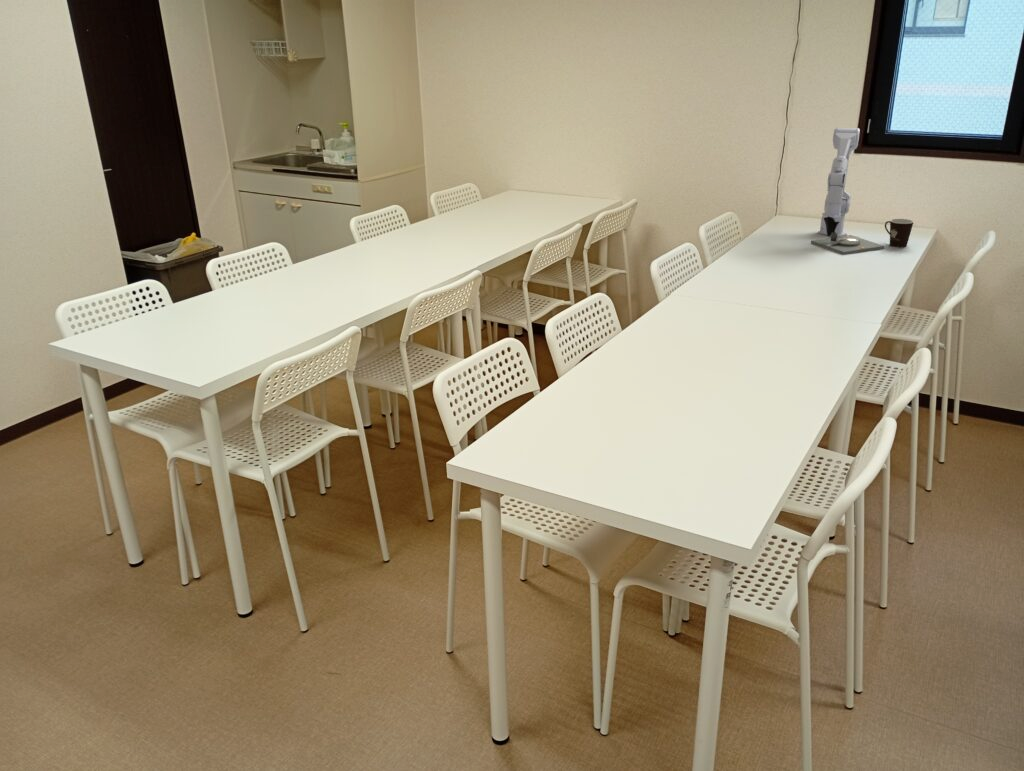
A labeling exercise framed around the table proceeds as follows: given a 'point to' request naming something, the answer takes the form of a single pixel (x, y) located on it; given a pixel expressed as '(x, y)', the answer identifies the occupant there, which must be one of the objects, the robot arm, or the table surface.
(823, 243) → the panel
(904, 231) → the coffee mug
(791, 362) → the table surface
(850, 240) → the dial
